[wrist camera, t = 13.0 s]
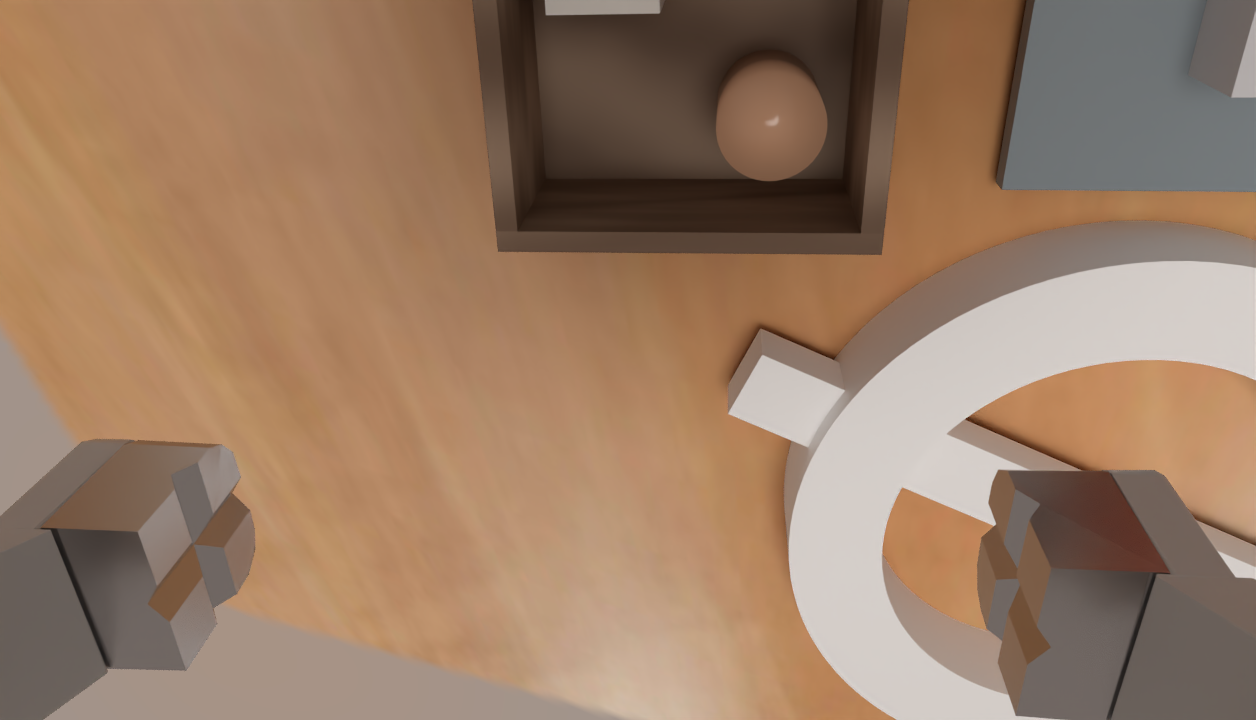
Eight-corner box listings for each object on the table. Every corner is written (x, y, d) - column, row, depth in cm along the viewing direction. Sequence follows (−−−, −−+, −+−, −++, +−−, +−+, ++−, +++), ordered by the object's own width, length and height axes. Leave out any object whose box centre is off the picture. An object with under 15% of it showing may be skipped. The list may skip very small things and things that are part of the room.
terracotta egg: (717, 50, 37) (716, 71, 34) (821, 48, 37) (831, 70, 33) (716, 150, 39) (714, 180, 35) (814, 150, 39) (823, 181, 35)
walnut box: (502, -178, 35) (453, -181, 29) (893, -192, 33) (930, -199, 27) (531, 190, 41) (498, 251, 35) (858, 191, 40) (881, 254, 34)
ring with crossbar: (707, 330, 44) (705, 381, 40) (1380, 122, 37) (1462, 158, 33) (865, 729, 56) (876, 800, 52) (1400, 629, 49) (1463, 702, 45)
